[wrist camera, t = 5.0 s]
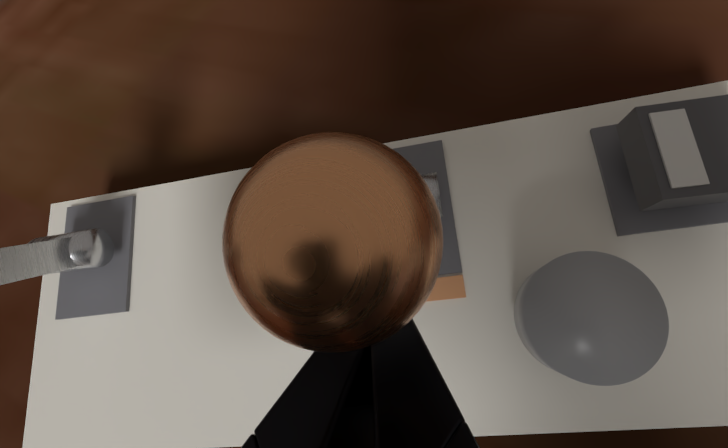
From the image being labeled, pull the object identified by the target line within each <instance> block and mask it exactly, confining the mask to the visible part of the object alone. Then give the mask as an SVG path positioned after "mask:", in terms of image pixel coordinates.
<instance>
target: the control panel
mask: <svg viewBox="0 0 728 448" xmlns="http://www.w3.org/2000/svg"><path fill="white" fill-rule="evenodd" d="M720 95H728V81H722V82H717V83H711V84H706V85H700V86H695V87H689V88H684V89H678V90H673V91H667V92H662V93H657V94H651V95H646V96H640V97H635V98H629V99H624V100H618V101H613V102H607V103H602V104H596V105H591V106H586V107H580V108H575V109H569V110H564V111H558V112H553V113H547V114H542V115H536V116H531V117H525V118H520V119H514V120H509V121H504V122H498V123H493V124H487V125H482V126H476V127H471V128H465V129H460V130H454V131H449V132H443V133H438V134H433V135H427V136H422V137H416V138H411V139H405V140H400V141H394V142H389V143H383V144H384V145H386V146H388V147H390V148H391V149H393V150H394V151H396V152H398V153H399V154H400V155H401V156H402V157H404V158H405V159H406V160H407V161H409V162H410V164H411V165H412V166H413V167H414V168H415V169H416V170H417V171H418V172H419V173H420V175H421V174H427V173H433V172H436V173H437V179H438V186H439V192H440V199H441V206H442V213H443V218H441V222H442V228H443V255H442V261H441V266H440V270H439V274H438V277H437V280H436V283H435V285H434V287H433V289H432V291H431V293H430V295H429V297H428V299H427V301H426V302H425V303H424V305H423V306H422V308H421V309H420V311H419V312H418V313H417V314H416V315H415V316H414V317H413V320H414V322H415V324H416V326H417V328H418V330H419V332H420V334H421V336H422V338H423V340H424V342H425V344H426V345H427V347H428V349H429V351H430V353H431V355H432V357H433V359H434V361H435V363H436V365H437V367H438V369H439V371H440V373H441V375H442V376H443V378H444V380H445V382H446V384H447V386H448V388H449V390H450V392H451V394H452V396H453V398H454V400H455V402H456V404H457V406H458V407H459V409H460V411H461V413H462V415H463V417H464V419H465V423H467V424H468V426H469V428H470V430H471V432H472V434H473V436H497V435H521V434H544V433H568V432H592V431H615V430H639V429H663V428H686V427H710V426H728V202H720V203H711V204H702V205H693V206H685V207H676V208H667V209H658V210H650V211H641V212H640V210H639V206H638V203H637V199H636V196H635V192H634V189H633V185H632V182H631V178H630V174H629V171H628V167H627V164H626V160H625V157H624V153H623V150H622V146H621V143H620V139H619V136H618V132H617V129H616V125H617V124H618V123H619V122H620V121H621V120H622V119H623V118H624V117H626V116H627V115H628V114H629V113H630V112H631V111H632V110H633V109H634V108H635V107H639V106H646V105H654V104H661V103H668V102H676V101H683V100H691V99H698V98H705V97H713V96H720ZM250 169H251V168H247V169H241V170H236V171H230V172H225V173H219V174H214V175H208V176H203V177H198V178H192V179H187V180H181V181H176V182H170V183H165V184H159V185H154V186H148V187H143V188H137V189H132V190H127V191H121V192H116V193H110V194H105V195H99V196H94V197H88V198H83V199H77V200H72V201H66V202H61V203H55V204H51V210H50V218H49V227H48V235H47V236H52V235H58V234H64V233H70V232H76V231H82V230H88V229H94V228H98V229H102V230H104V231H106V232H107V233H108V234H109V235H110V237H111V238H112V240H113V244H114V255H113V258H112V259H111V261H110V262H109V263H108V264H107V265H105V266H102V267H95V268H88V269H81V270H74V271H67V272H61V273H54V274H47V275H43V278H42V286H41V295H40V303H39V311H38V320H37V328H36V337H35V345H34V354H33V362H32V371H31V379H30V388H29V396H28V405H27V413H26V422H25V430H24V439H23V447H22V448H213V447H237V446H242V445H243V444H244V443H245V441H246V440H247V439H248V437H249V436H250V435H251V434H255V433H254V430H255V429H256V427H257V426H258V425H259V423H260V422H261V421H262V419H263V418H264V417H265V415H266V414H267V413H268V411H269V410H270V409H271V407H272V406H273V405H274V403H275V402H276V401H277V400H278V398H279V397H280V396H281V394H282V393H283V392H284V390H285V389H286V388H287V386H288V385H289V384H290V382H291V381H292V380H293V378H294V377H295V376H296V374H297V373H298V372H299V371H300V369H301V368H302V367H303V365H304V364H305V363H306V361H307V360H308V359H309V357H310V356H311V355H312V353H313V352H314V351H311V350H307V349H303V348H299V347H296V346H293V345H291V344H288V343H286V342H284V341H282V340H280V339H278V338H276V337H274V336H273V335H272V334H270V333H269V332H267V331H266V330H264V329H263V328H262V327H261V326H260V325H259V324H258V323H256V322H255V321H254V320H253V319H252V317H251V316H250V315H249V314H248V313H247V312H246V311H245V309H244V308H243V306H242V305H241V303H240V302H239V301H238V299H237V297H236V295H235V293H234V291H233V289H232V287H231V285H230V282H229V279H228V277H227V273H226V269H225V266H224V260H223V252H222V234H223V225H224V221H225V217H226V213H227V209H228V206H229V204H230V201H231V198H232V196H233V194H234V192H235V190H236V188H237V186H238V185H239V183H240V182H241V180H242V179H243V178H244V176H245V175H246V173H247V172H248V171H249V170H250ZM578 251H597V252H602V253H607V254H611V255H614V256H617V257H619V258H621V259H624V260H625V261H627V262H629V263H631V264H633V265H634V266H635V267H637V268H638V269H640V270H641V271H642V272H643V273H644V274H645V275H646V276H647V277H648V278H649V279H650V280H651V281H652V282H653V284H654V285H655V286H656V288H657V289H658V291H659V293H660V295H661V296H662V298H663V300H664V303H665V306H666V309H667V314H668V319H669V334H668V340H667V344H666V347H665V349H664V352H663V354H662V355H661V357H660V359H659V360H658V362H657V363H656V364H655V365H654V366H653V367H652V368H651V369H650V370H649V371H648V372H647V373H645V374H644V375H642V376H641V377H639V378H637V379H635V380H633V381H630V382H628V383H624V384H620V385H613V386H597V385H590V384H586V383H582V382H579V381H576V380H574V379H571V378H569V377H567V376H565V375H563V374H561V373H559V372H556V371H554V370H552V369H550V368H549V367H547V366H545V365H544V364H542V363H541V362H539V361H538V360H537V359H536V358H535V357H534V356H533V355H532V354H531V353H530V352H529V351H528V350H527V348H526V347H525V346H524V344H523V343H522V341H521V339H520V337H519V335H518V332H517V330H516V326H515V321H514V304H515V299H516V296H517V293H518V291H519V289H520V287H521V285H522V284H523V282H524V281H525V280H526V279H527V278H528V277H529V276H530V275H531V274H532V273H533V272H535V271H536V270H538V269H539V268H541V267H542V266H544V265H546V264H547V263H549V262H550V261H552V260H553V259H555V258H557V257H560V256H562V255H565V254H568V253H573V252H578Z"/></svg>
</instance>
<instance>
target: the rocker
mask: <svg viewBox="0 0 728 448" xmlns="http://www.w3.org/2000/svg"><path fill="white" fill-rule="evenodd" d="M616 129H617V132H618V136H619V139H620V143H621V146H622V150H623V153H624V157H625V160H626V164H627V167H628V171H629V174H630V178H631V182H632V185H633V189H634V192H635V196H636V199H637V203H638V206H639V210H640V212H641V211H650V210H658V209H667V208H676V207H685V206H693V205H702V204H711V203H720V202H728V95H720V96H713V97H705V98H698V99H691V100H683V101H676V102H668V103H661V104H654V105H646V106H639V107H635V108H634V109H633V110H632V111H631V112H630V113H629V114H628V115H627V116H626V117H624V118H623V119H622V120H621V121H620V122H619V123H618V124H617V125H616Z"/></svg>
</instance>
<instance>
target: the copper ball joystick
mask: <svg viewBox="0 0 728 448" xmlns="http://www.w3.org/2000/svg"><path fill="white" fill-rule="evenodd" d="M441 218H443V213H442V206H441V199H440V192H439V186H438V179H437V173H436V172H433V173H427V174H421V175H420V173H419V172H418V171H417V170H416V169H415V168H414V167H413V166H412V165H411V164H410V162H409V161H407V160H406V159H405V158H404V157H402V156H401V155H400V154H399V153H398V152H396V151H394V150H393V149H391V148H390V147H388V146H386V145H384V144H382V143H380V142H378V141H376V140H373V139H371V138H367V137H364V136H360V135H357V134H350V133H344V132H322V133H314V134H310V135H306V136H302V137H299V138H296V139H293V140H291V141H288V142H286V143H284V144H282V145H280V146H278V147H277V148H275V149H273V150H271V151H270V152H269V153H267V154H266V155H265V156H264V157H262V158H261V159H260V160H259V161H258V162H257V163H256V164H255V165H254V166H253V167H252V168H251V169H250V170H249V171H248V172H247V173H246V175H245V176H244V178H243V179H242V180H241V182H240V183H239V185H238V186H237V188H236V190H235V192H234V194H233V196H232V198H231V201H230V204H229V206H228V209H227V213H226V217H225V221H224V225H223V234H222V252H223V260H224V266H225V269H226V273H227V277H228V279H229V282H230V285H231V287H232V289H233V291H234V293H235V295H236V297H237V299H238V301H239V302H240V303H241V305H242V306H243V308H244V309H245V311H246V312H247V313H248V314H249V315H250V316H251V317H252V319H253V320H254V321H255V322H256V323H258V324H259V325H260V326H261V327H262V328H263V329H264V330H266V331H267V332H269V333H270V334H272V335H273V336H274V337H276V338H278V339H280V340H282V341H284V342H286V343H288V344H291V345H293V346H296V347H299V348H303V349H307V350H311V351H317V352H326V353H339V352H348V351H355V350H358V349H362V348H365V347H369V346H371V345H374V344H376V343H378V342H381V341H383V340H385V339H387V338H388V337H390V336H392V335H393V334H395V333H396V332H398V331H399V330H400V329H401V328H403V327H404V326H405V325H406V324H407V323H408V322H409V321H410V320H411V319H412V318H413V317H414V316H415V315H416V314H417V313H418V312H419V311H420V309H421V308H422V306H423V305H424V303H425V302H426V301H427V299H428V297H429V295H430V293H431V291H432V289H433V287H434V285H435V283H436V280H437V277H438V274H439V270H440V266H441V261H442V255H443V228H442V222H441Z"/></svg>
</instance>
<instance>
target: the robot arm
mask: <svg viewBox="0 0 728 448" xmlns="http://www.w3.org/2000/svg"><path fill="white" fill-rule="evenodd" d="M254 433H255V434H251V435H250V436H249V437H248V439H247V440H246V441H245V443H244V444H243V445H242V447H241V448H480V447H479V446H478V444H477V442H476V440H475V438H474V436H473V434H472V432H471V430H470V428H469V426H468V424H467V423H465V419H464V417H463V415H462V413H461V411H460V409H459V407H458V406H457V404H456V402H455V400H454V398H453V396H452V394H451V392H450V390H449V388H448V386H447V384H446V382H445V380H444V378H443V376H442V375H441V373H440V371H439V369H438V367H437V365H436V363H435V361H434V359H433V357H432V355H431V353H430V351H429V349H428V347H427V345H426V344H425V342H424V340H423V338H422V336H421V334H420V332H419V330H418V328H417V326H416V324H415V322H414V320H413V318H412V319H411V320H410V321H409V322H408V323H407V324H406V325H405V326H404V327H403V328H401V329H400V330H399V331H398V332H396V333H395V334H393V335H392V336H390V337H388V338H387V339H385V340H383V341H381V342H378V343H376V344H374V345H371V346H369V347H365V348H362V349H358V350H355V351H348V352H339V353H326V352H317V351H314V352H313V353H312V355H311V356H310V357H309V359H308V360H307V361H306V363H305V364H304V365H303V367H302V368H301V369H300V371H299V372H298V373H297V374H296V376H295V377H294V378H293V380H292V381H291V382H290V384H289V385H288V386H287V388H286V389H285V390H284V392H283V393H282V394H281V396H280V397H279V398H278V400H277V401H276V402H275V403H274V405H273V406H272V407H271V409H270V410H269V411H268V413H267V414H266V415H265V417H264V418H263V419H262V421H261V422H260V423H259V425H258V426H257V427H256V429H255V430H254Z"/></svg>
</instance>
